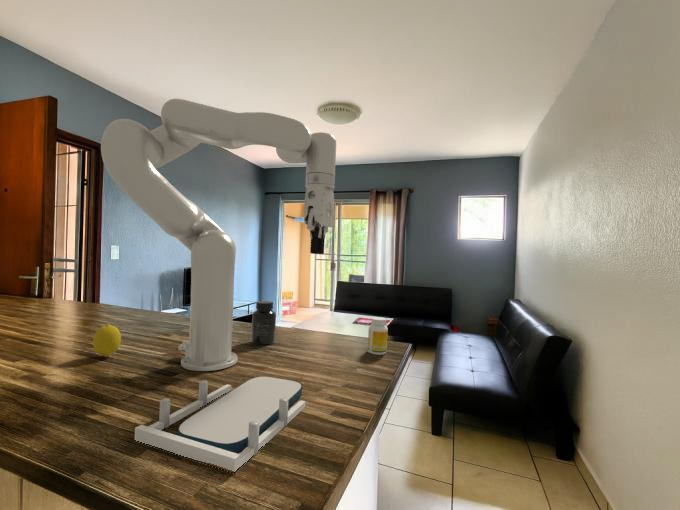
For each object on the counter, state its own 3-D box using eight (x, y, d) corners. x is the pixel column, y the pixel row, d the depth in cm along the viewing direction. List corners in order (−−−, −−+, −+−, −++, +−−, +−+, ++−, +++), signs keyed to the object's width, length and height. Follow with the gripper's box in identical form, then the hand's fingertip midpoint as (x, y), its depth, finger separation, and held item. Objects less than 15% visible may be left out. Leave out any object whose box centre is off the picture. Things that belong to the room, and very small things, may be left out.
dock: (133, 440, 47) (134, 412, 47) (226, 389, 65) (226, 368, 65) (235, 474, 41) (237, 441, 41) (306, 407, 59) (307, 384, 59)
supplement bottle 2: (363, 351, 94) (365, 317, 94) (377, 348, 98) (378, 315, 98) (377, 356, 90) (378, 321, 90) (390, 353, 94) (392, 319, 94)
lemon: (86, 358, 79) (88, 324, 79) (110, 352, 84) (111, 320, 84) (102, 362, 77) (103, 327, 77) (125, 355, 82) (126, 323, 82)
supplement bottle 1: (256, 338, 103) (258, 299, 103) (277, 340, 102) (279, 301, 102) (247, 344, 96) (249, 303, 96) (270, 346, 95) (271, 304, 95)
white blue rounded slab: (236, 463, 43) (237, 448, 43) (165, 445, 47) (166, 431, 47) (307, 393, 66) (307, 383, 66) (256, 383, 69) (256, 374, 69)
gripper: (321, 175, 78) (318, 254, 78) (343, 188, 92) (340, 254, 92) (293, 177, 81) (290, 252, 81) (318, 189, 95) (315, 253, 95)
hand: (317, 253), depth 86 cm, fingers closed
